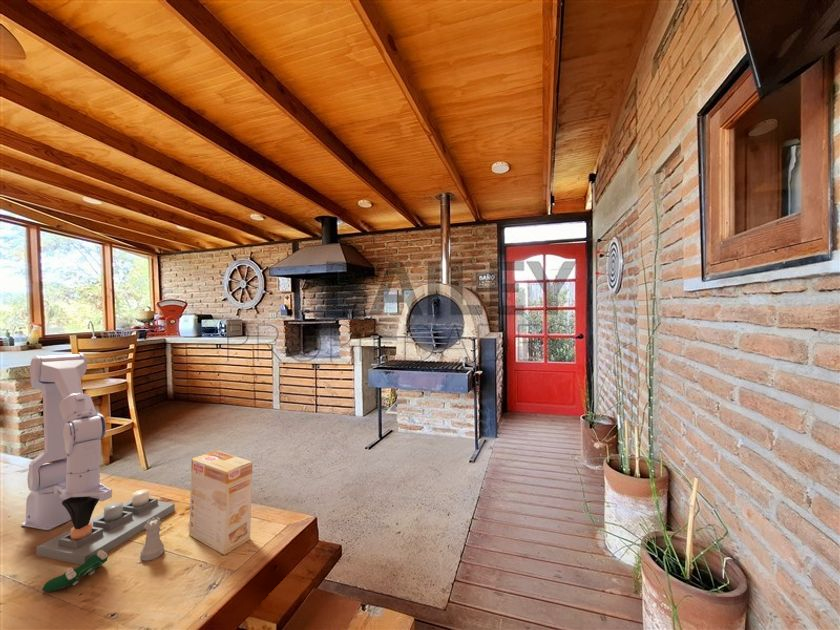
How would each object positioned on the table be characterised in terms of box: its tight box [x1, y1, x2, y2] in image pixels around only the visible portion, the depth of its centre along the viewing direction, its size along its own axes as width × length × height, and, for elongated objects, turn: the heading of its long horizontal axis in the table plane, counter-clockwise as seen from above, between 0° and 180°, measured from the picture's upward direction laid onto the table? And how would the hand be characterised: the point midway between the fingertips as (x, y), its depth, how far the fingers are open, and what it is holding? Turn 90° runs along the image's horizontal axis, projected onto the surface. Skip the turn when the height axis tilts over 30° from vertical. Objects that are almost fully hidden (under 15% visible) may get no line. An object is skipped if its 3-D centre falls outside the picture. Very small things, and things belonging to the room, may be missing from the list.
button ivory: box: [131, 489, 150, 507], centre depth 94 cm, size 4×4×3 cm
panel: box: [35, 496, 176, 566], centre depth 87 cm, size 14×22×4 cm, turn 169°
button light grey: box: [103, 502, 124, 522], centre depth 87 cm, size 4×4×3 cm
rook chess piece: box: [139, 517, 165, 562], centre depth 79 cm, size 4×4×8 cm
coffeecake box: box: [188, 450, 254, 556], centre depth 86 cm, size 15×7×20 cm, turn 62°
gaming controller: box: [41, 550, 109, 592], centre depth 72 cm, size 9×4×6 cm
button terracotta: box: [70, 522, 92, 541], centre depth 80 cm, size 4×4×3 cm
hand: (81, 526), depth 80 cm, fingers closed
